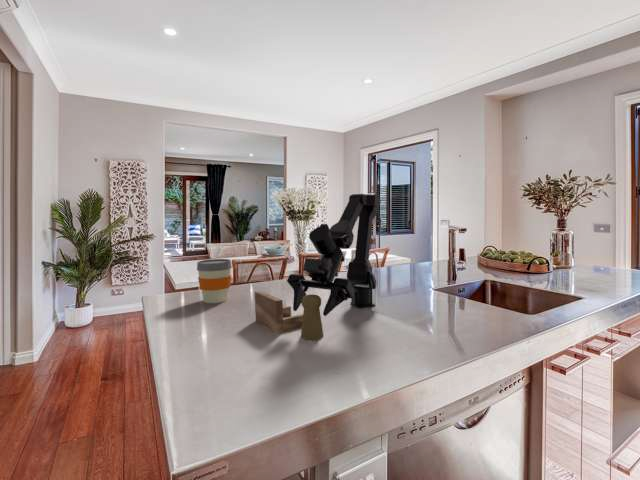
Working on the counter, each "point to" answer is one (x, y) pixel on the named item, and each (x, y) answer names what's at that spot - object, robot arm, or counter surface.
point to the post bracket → (274, 313)
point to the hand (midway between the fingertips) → (308, 312)
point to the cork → (311, 318)
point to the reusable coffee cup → (214, 279)
